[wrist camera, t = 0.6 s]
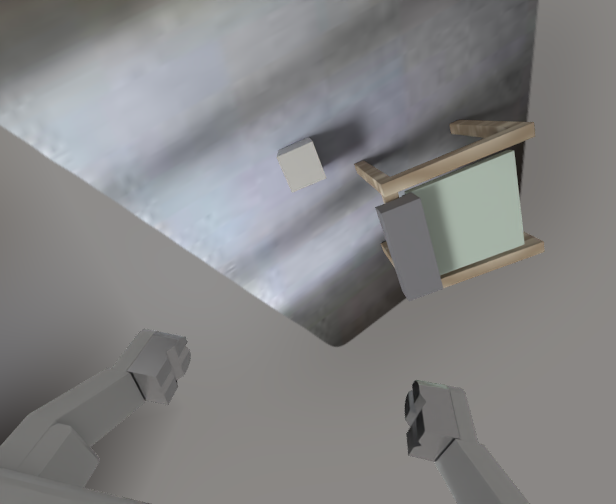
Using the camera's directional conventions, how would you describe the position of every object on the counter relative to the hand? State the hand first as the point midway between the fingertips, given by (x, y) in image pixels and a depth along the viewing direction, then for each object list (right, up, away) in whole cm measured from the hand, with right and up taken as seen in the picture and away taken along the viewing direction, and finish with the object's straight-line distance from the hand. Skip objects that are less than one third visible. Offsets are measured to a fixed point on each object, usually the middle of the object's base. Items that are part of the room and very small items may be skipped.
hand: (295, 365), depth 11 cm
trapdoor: (+18, +7, +26) cm, 33 cm away
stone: (-1, +18, +36) cm, 41 cm away
